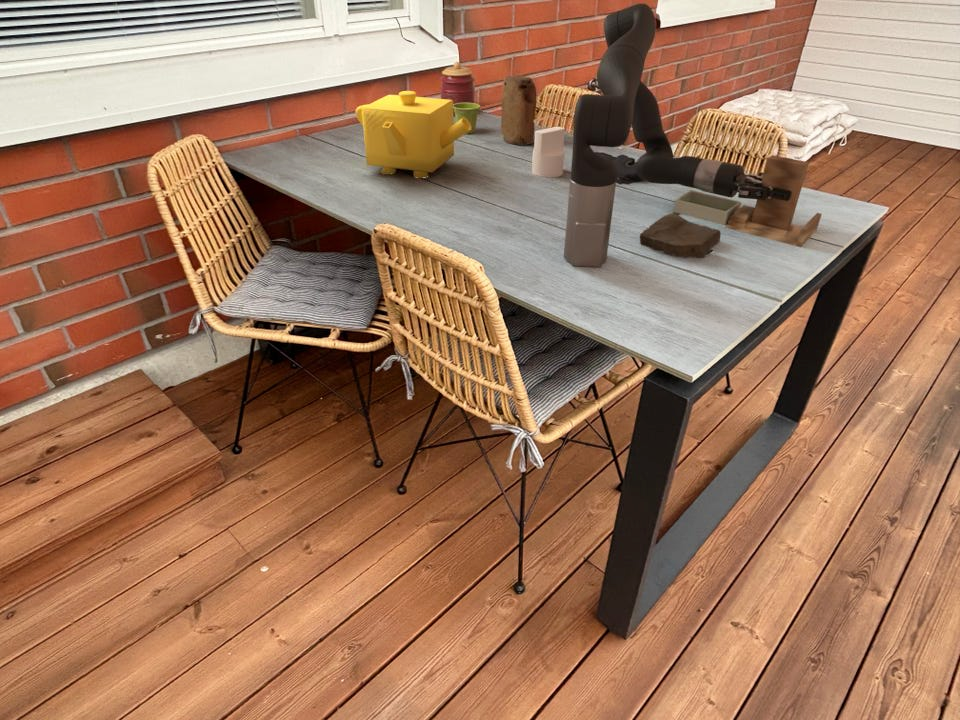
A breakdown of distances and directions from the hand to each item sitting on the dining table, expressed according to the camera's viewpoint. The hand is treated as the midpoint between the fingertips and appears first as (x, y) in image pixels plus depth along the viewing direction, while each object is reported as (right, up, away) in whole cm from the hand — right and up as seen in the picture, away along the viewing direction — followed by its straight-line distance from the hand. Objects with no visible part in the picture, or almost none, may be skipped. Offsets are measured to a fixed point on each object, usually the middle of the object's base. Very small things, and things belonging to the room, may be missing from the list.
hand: (792, 193), depth 145 cm
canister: (-79, +57, +101) cm, 140 cm away
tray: (-14, -2, +15) cm, 21 cm away
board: (-2, -6, +6) cm, 9 cm away
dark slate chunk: (-31, +18, +44) cm, 57 cm away
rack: (-2, -7, +7) cm, 10 cm away
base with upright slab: (-51, +17, +43) cm, 68 cm away
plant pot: (-75, +41, +78) cm, 116 cm away
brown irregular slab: (-25, -11, +2) cm, 27 cm away
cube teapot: (-90, +18, +44) cm, 101 cm away
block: (-58, +34, +68) cm, 95 cm away
